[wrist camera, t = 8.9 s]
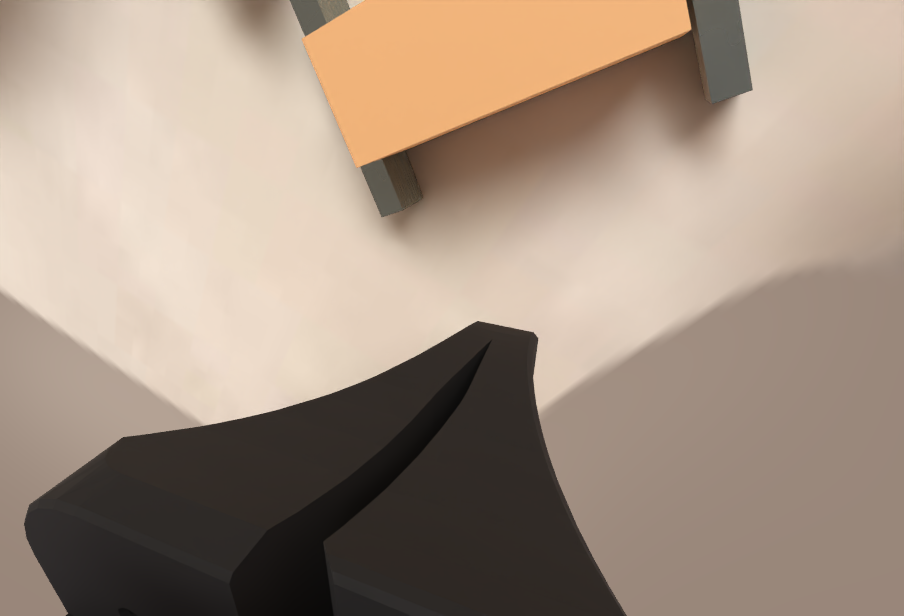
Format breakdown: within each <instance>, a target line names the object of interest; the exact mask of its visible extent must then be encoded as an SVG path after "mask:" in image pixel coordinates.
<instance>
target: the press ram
mask: <svg viewBox="0 0 904 616" xmlns="http://www.w3.org/2000/svg"><path fill="white" fill-rule="evenodd" d="M690 30H691V24H690V18H689V13H688V8H687V3H686V0H365V1H363V2H361V3H360V4H358V5H356V6H355V7H353V8H352V9H350V10H348V11H347V12H345V13H343V14H342V15H340V16H338V17H337V18H335V19H334V20H332V21H330V22H329V23H327V24H325V25H324V26H322V27H320V28H319V29H317V30H316V31H314V32H312V33H311V34H309V35H307V36H306V37H304V38H302V41H303V43H304V46H305V48H306V50H307V53H308V55H309V57H310V60H311V62H312V64H313V67H314V69H315V71H316V74H317V76H318V79H319V81H320V83H321V86H322V88H323V90H324V93H325V95H326V97H327V100H328V102H329V104H330V107H331V109H332V111H333V114H334V116H335V118H336V121H337V123H338V125H339V128H340V130H341V132H342V135H343V137H344V139H345V142H346V144H347V147H348V149H349V151H350V154H351V156H352V158H353V161H354V163H355V165H356V168H358V167H360V166H363V165H366V164H369V163H371V162H374V161H377V160H380V159H382V158H385V157H388V156H391V155H393V154H396V153H399V152H402V151H404V150H407V149H410V148H412V147H414V146H417V145H419V144H422V143H424V142H427V141H429V140H432V139H434V138H436V137H439V136H441V135H444V134H446V133H449V132H451V131H453V130H456V129H458V128H461V127H463V126H466V125H468V124H470V123H473V122H475V121H478V120H480V119H483V118H485V117H488V116H490V115H492V114H495V113H497V112H500V111H502V110H505V109H507V108H509V107H512V106H514V105H517V104H519V103H522V102H524V101H526V100H529V99H531V98H534V97H536V96H539V95H541V94H544V93H546V92H548V91H551V90H553V89H556V88H558V87H561V86H563V85H565V84H568V83H570V82H573V81H575V80H578V79H580V78H582V77H585V76H587V75H590V74H592V73H595V72H597V71H599V70H602V69H604V68H607V67H609V66H612V65H614V64H617V63H619V62H621V61H624V60H626V59H629V58H631V57H634V56H636V55H638V54H641V53H643V52H646V51H648V50H651V49H653V48H655V47H658V46H660V45H663V44H665V43H668V42H670V41H673V40H675V39H677V38H680V37H682V36H684V35H685V34H686V33H687V32H689V31H690Z"/></svg>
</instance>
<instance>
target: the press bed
mask: <svg viewBox="0 0 904 616" xmlns="http://www.w3.org/2000/svg"><path fill="white" fill-rule="evenodd" d="M686 1H687V6H688V11H689V17H690V22H691V27H692V32H693V38H694V43H695V48H696V54H697V59H698V64H699V69H700V75H701V80H702V85H703V90H704V96H705V100H707V101H708V102H710V103H711V104H713V103H716V102H719V101H722V100H725V99H728V98H731V97H734V96H737V95H740V94H743V93H745V92H748V91H751V90H753V89H752V83H751V76H750V70H749V64H748V58H747V51H746V45H745V39H744V32H743V26H742V20H741V14H740V7H739V1H738V0H686ZM290 2H291V4H292V6H293V9H294V11H295V13H296V16H297V18H298V21H299V23H300V25H301V28H302V30H303V32H304V35H305V37H306V36H307V35H309V34H311V33H312V32H314V31H316V30H317V29H319V28H320V27H322V26H324V25H325V24H327V23H329V22H330V21H332V20H334V19H335V18H337V17H338V16H340V15H342V14H343V13H345V12H347V11H348V10H350V8H349V6H348V3H347V1H346V0H290ZM360 167H361V169H362V172H363V174H364V176H365V179H366V181H367V183H368V186H369V188H370V191H371V193H372V195H373V198H374V200H375V202H376V205H377V207H378V209H379V212H380V214H381V216H382V217H384V216H387V215H390V214H393V213H396V212H399V211H402V210H404V209H406V208H407V207H409V206H410V205H412V204H414V203H415V202H417V201H419V200H420V199H422V198H423V195H422V193H421V190H420V188H419V185H418V182H417V180H416V177H415V175H414V172H413V170H412V167H411V165H410V162H409V159H408V157H407V154H406V152H405V150H404V151H402V152H399V153H396V154H393V155H391V156H388V157H385V158H382V159H380V160H377V161H374V162H371V163H369V164H366V165H363V166H360Z"/></svg>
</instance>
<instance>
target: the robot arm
mask: <svg viewBox="0 0 904 616" xmlns="http://www.w3.org/2000/svg"><path fill="white" fill-rule="evenodd" d="M537 344H538V338H537V336H536V335H535V334H534V332H529V331H524V330H519V329H514V328H509V327H504V326H499V325H494V324H490V323H485V322H480V321H477V322H475V323H473V324H471V325H469V326H468V327H466V328H464V329H463V330H461V331H459V332H458V333H456V334H454V335H453V336H451V337H449V338H447V339H446V340H444V341H442V342H441V343H439V344H437V345H435V346H433V347H432V348H430V349H428V350H426V351H425V352H423V353H421V354H419V355H417V356H416V357H414V358H412V359H410V360H408V361H406V362H404V363H401V364H399V365H397V366H395V367H393V368H391V369H389V370H387V371H385V372H383V373H381V374H379V375H377V376H375V377H373V378H370V379H368V380H365V381H363V382H361V383H358V384H356V385H353V386H350V387H348V388H345V389H343V390H340V391H337V392H335V393H332V394H329V395H326V396H323V397H319V398H316V399H313V400H309V401H306V402H303V403H299V404H296V405H293V406H289V407H286V408H283V409H279V410H276V411H272V412H268V413H263V414H259V415H255V416H251V417H246V418H242V419H237V420H232V421H227V422H222V423H217V424H212V425H206V426H200V427H194V428H188V429H181V430H173V431H166V432H160V433H153V434H146V435H139V436H130V437H123V438H121V439H120V440H119V441H117V442H116V443H115V444H113V445H112V446H110V447H109V448H107V449H106V450H105V451H103V452H102V453H100V454H99V455H98V456H96V457H95V458H94V459H92V460H91V461H89V462H88V463H87V464H85V465H84V466H82V467H81V468H80V469H78V470H77V471H76V472H74V473H73V474H71V475H70V476H69V477H67V478H66V479H64V480H63V481H62V482H60V483H59V484H58V485H56V486H55V487H53V488H52V489H51V490H49V491H48V492H46V493H45V494H44V495H42V496H41V497H39V498H38V499H37V500H35V501H34V502H33V503H31V504H30V505H29V508H28V511H27V514H26V518H25V523H24V526H25V531H26V537H27V540H28V542H29V544H30V546H31V548H32V550H33V552H34V555H35V557H36V558H37V560H38V562H39V563H40V565H41V567H42V568H43V570H44V572H45V574H46V576H47V577H48V579H49V581H50V583H51V584H52V586H53V588H54V590H55V591H56V593H57V595H58V596H59V598H60V600H61V601H62V603H63V605H64V607H65V609H66V610H67V612H68V614H67V615H66V616H626V614H625V612H624V611H623V609H622V607H621V606H620V604H619V602H618V601H617V599H616V597H615V595H614V594H613V592H612V591H611V589H610V587H609V586H608V584H607V582H606V580H605V578H604V576H603V575H602V573H601V571H600V569H599V567H598V566H597V564H596V562H595V560H594V558H593V557H592V554H591V553H590V551H589V549H588V547H587V545H586V543H585V541H584V539H583V537H582V535H581V533H580V531H579V529H578V527H577V525H576V522H575V520H574V518H573V516H572V513H571V511H570V509H569V506H568V504H567V501H566V499H565V497H564V495H563V492H562V490H561V488H560V485H559V483H558V480H557V478H556V475H555V472H554V469H553V466H552V463H551V460H550V458H549V455H548V451H547V448H546V444H545V441H544V438H543V433H542V429H541V425H540V421H539V416H538V411H537V406H536V399H535V393H534V382H533V374H534V367H535V359H536V352H537Z"/></svg>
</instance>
